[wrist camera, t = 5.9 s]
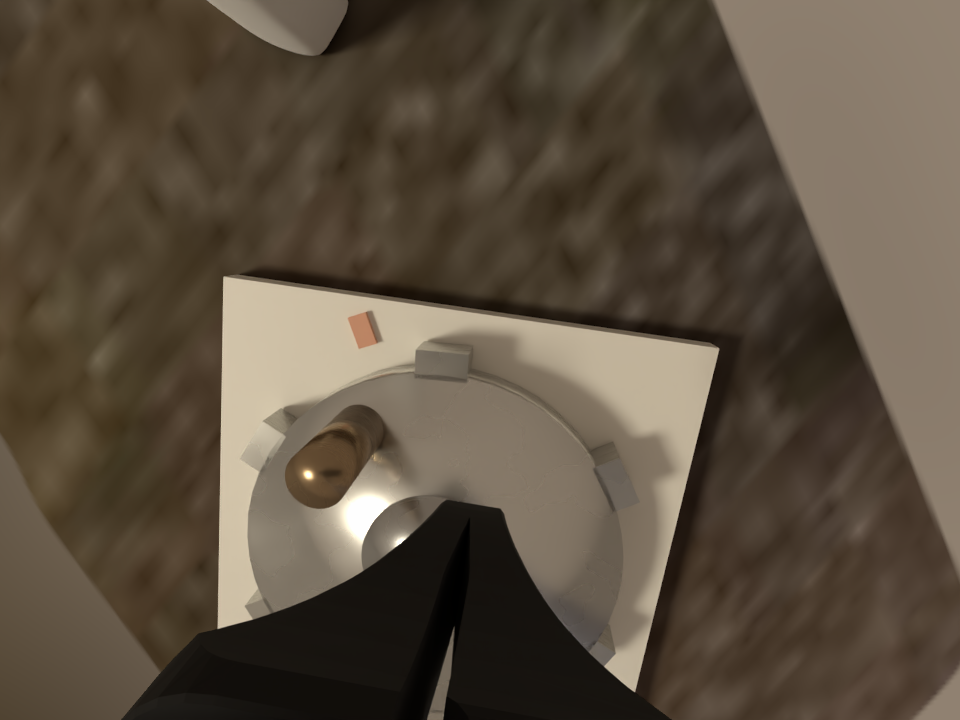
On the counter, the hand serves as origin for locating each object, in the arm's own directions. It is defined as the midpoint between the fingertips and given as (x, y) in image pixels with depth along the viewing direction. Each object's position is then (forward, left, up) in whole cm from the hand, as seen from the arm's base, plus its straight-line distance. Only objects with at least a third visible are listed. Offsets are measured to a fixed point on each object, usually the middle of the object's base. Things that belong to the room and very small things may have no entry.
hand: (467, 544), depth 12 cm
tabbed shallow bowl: (-5, +2, -8) cm, 10 cm away
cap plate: (-5, +2, -9) cm, 11 cm away
